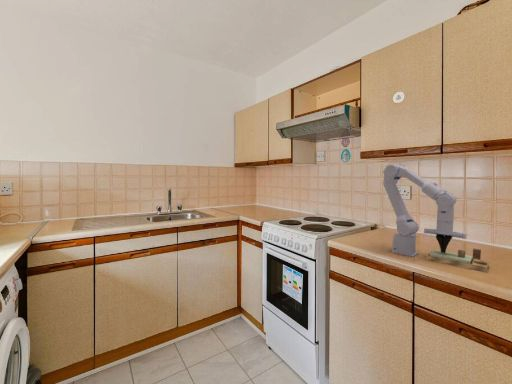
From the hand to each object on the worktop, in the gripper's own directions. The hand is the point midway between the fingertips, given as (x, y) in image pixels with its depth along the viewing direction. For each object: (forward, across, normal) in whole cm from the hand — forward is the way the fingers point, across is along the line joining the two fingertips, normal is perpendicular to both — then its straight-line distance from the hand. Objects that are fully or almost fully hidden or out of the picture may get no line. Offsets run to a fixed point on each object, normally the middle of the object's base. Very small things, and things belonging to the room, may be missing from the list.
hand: (443, 252), depth 109 cm
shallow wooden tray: (+4, +4, 0) cm, 6 cm away
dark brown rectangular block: (+4, +10, +8) cm, 14 cm away
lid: (+2, +3, 0) cm, 3 cm away
